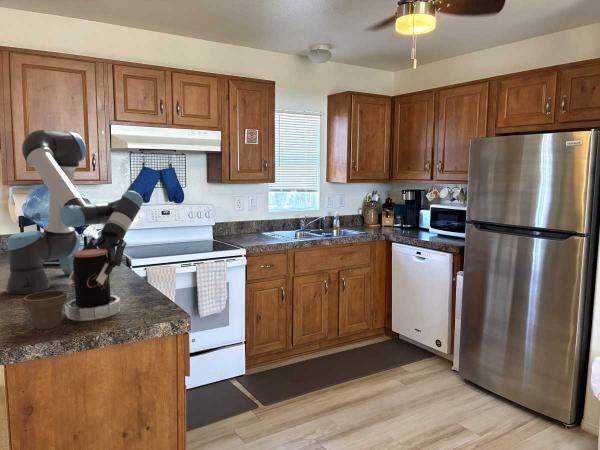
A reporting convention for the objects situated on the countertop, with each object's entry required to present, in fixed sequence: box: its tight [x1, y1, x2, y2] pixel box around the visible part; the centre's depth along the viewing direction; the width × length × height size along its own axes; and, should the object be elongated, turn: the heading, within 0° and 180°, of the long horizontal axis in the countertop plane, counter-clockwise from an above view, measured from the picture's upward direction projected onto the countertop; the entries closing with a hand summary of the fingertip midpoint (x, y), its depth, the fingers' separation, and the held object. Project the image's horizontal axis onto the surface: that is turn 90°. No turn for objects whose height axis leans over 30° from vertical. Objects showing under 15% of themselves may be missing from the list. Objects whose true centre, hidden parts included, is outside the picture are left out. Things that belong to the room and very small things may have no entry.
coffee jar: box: [72, 248, 111, 308], centre depth 154 cm, size 11×11×18 cm
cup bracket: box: [64, 294, 122, 322], centre depth 155 cm, size 16×16×4 cm
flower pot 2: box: [58, 256, 74, 276], centre depth 217 cm, size 9×9×9 cm
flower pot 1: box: [23, 289, 68, 330], centre depth 141 cm, size 12×11×10 cm
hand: (85, 281), depth 151 cm, fingers closed on coffee jar, 11 cm apart
